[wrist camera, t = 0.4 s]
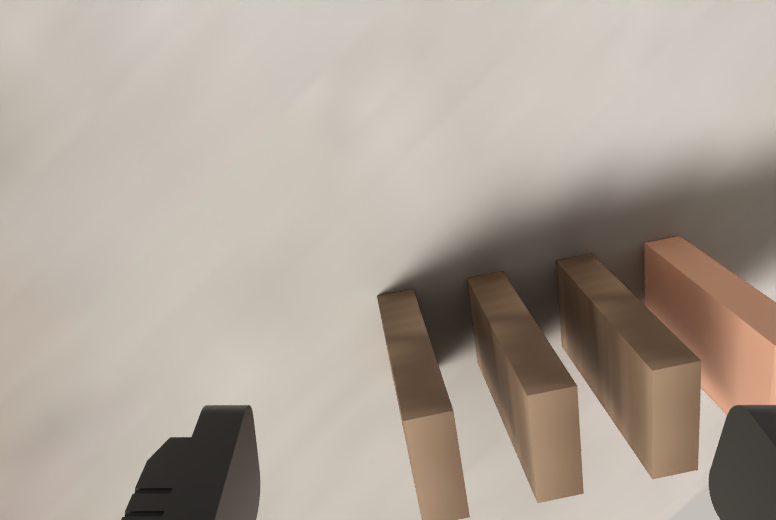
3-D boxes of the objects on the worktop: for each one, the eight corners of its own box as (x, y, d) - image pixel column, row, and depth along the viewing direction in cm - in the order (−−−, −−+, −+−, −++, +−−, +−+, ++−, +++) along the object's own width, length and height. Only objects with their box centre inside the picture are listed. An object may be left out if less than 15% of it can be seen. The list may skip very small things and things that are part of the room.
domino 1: (393, 380, 34) (423, 526, 25) (376, 295, 32) (402, 421, 23) (427, 373, 34) (469, 517, 25) (413, 288, 32) (453, 410, 23)
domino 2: (477, 363, 34) (537, 503, 25) (466, 278, 32) (527, 395, 23) (511, 356, 34) (583, 493, 25) (502, 270, 32) (577, 385, 23)
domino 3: (561, 346, 34) (652, 479, 25) (556, 260, 32) (652, 370, 23) (595, 339, 34) (697, 469, 25) (591, 253, 32) (701, 360, 23)
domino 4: (645, 329, 34) (765, 455, 25) (644, 242, 32) (775, 345, 23) (678, 322, 34) (810, 445, 25) (679, 236, 32) (823, 335, 23)
